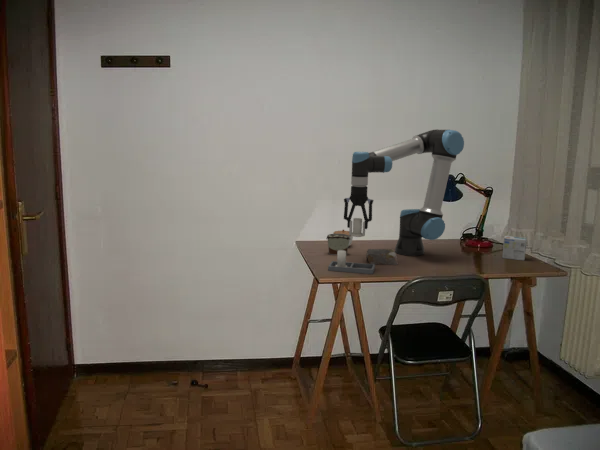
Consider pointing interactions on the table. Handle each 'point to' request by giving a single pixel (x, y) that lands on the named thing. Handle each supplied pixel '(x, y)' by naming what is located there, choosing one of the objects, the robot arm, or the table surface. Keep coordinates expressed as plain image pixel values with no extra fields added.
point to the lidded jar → (346, 234)
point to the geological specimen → (381, 256)
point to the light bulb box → (514, 248)
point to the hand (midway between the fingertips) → (357, 235)
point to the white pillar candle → (357, 227)
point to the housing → (349, 265)
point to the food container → (337, 243)
